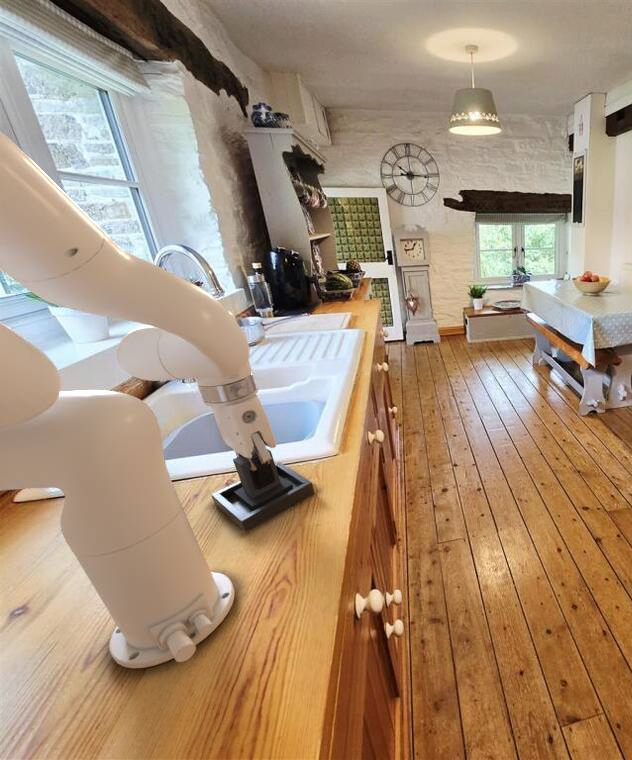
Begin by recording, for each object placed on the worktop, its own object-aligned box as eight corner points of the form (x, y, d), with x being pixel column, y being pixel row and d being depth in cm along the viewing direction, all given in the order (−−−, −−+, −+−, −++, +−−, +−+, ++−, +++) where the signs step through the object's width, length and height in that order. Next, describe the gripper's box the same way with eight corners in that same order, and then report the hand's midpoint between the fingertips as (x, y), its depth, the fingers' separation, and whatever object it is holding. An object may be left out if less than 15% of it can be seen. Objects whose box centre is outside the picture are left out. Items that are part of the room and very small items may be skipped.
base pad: (314, 492, 75) (311, 482, 74) (245, 532, 66) (241, 521, 65) (281, 471, 82) (278, 461, 81) (214, 504, 73) (210, 494, 72)
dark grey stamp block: (293, 489, 74) (282, 451, 71) (253, 512, 69) (239, 472, 66) (274, 476, 78) (263, 440, 75) (235, 497, 73) (221, 458, 70)
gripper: (277, 390, 64) (305, 486, 71) (231, 370, 73) (260, 457, 80) (225, 409, 58) (261, 511, 65) (182, 384, 67) (218, 476, 74)
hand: (260, 480), depth 73 cm, fingers closed on dark grey stamp block, 3 cm apart
